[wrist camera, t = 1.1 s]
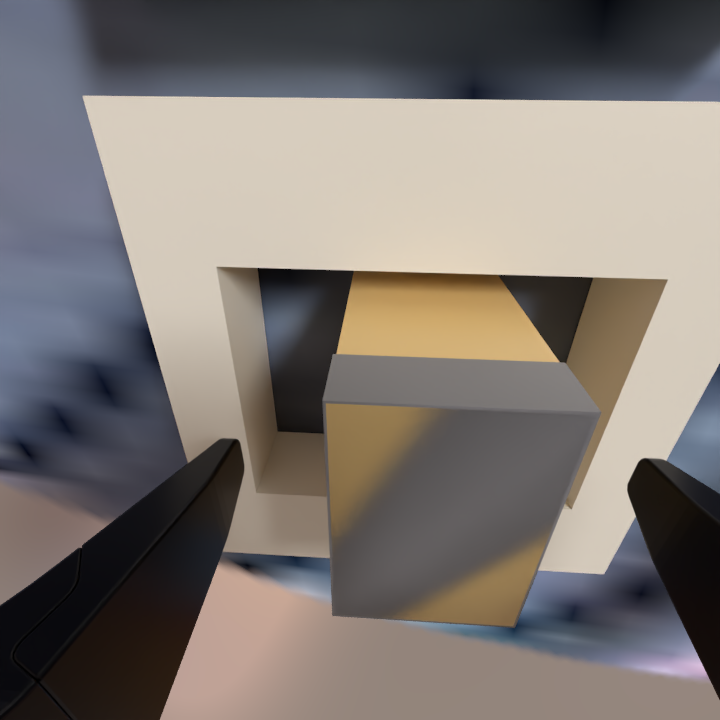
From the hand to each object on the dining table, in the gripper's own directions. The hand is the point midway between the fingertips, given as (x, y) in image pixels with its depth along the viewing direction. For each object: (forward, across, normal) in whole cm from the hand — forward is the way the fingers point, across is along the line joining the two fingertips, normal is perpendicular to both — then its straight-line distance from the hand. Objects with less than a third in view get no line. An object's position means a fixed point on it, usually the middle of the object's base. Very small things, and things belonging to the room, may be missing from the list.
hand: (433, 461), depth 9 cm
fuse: (+5, 0, 0) cm, 5 cm away
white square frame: (+5, 0, 0) cm, 5 cm away
